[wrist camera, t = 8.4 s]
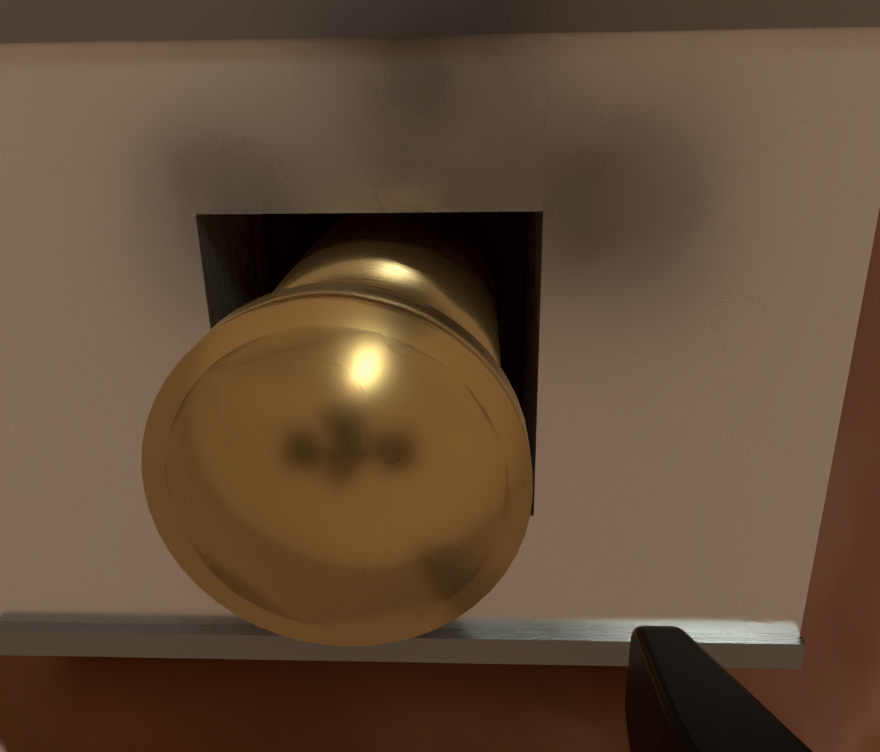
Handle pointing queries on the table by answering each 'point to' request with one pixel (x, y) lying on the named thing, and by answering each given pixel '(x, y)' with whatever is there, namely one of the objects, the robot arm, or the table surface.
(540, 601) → the jig
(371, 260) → the door knob
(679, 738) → the robot arm
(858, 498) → the table surface
